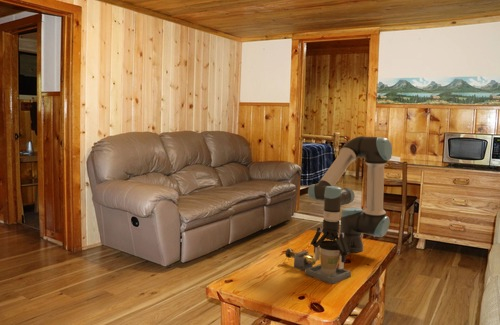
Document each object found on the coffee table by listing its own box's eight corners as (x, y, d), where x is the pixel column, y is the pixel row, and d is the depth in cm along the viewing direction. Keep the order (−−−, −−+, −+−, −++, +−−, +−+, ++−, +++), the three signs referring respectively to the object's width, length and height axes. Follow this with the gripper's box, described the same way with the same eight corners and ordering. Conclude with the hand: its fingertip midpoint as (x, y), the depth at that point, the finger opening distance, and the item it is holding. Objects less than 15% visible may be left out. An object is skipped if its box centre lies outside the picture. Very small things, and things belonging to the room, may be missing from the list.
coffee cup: (339, 279, 185) (341, 247, 183) (317, 276, 187) (319, 245, 185) (338, 271, 194) (340, 241, 193) (318, 269, 196) (319, 239, 195)
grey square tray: (324, 267, 201) (324, 262, 201) (350, 276, 191) (351, 271, 190) (305, 274, 191) (305, 269, 191) (332, 284, 180) (332, 279, 180)
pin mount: (302, 264, 205) (303, 250, 204) (312, 267, 200) (313, 253, 200) (293, 267, 200) (294, 252, 199) (303, 270, 195) (304, 256, 195)
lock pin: (290, 256, 208) (291, 247, 208) (316, 265, 197) (317, 256, 196) (285, 258, 205) (285, 249, 205) (310, 267, 194) (311, 258, 193)
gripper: (304, 215, 194) (302, 258, 197) (350, 226, 177) (347, 274, 179) (314, 213, 200) (312, 255, 202) (359, 224, 182) (356, 270, 184)
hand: (328, 264), depth 190 cm, fingers open, 13 cm apart
